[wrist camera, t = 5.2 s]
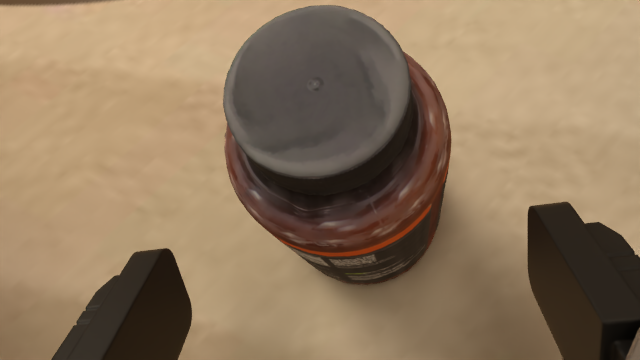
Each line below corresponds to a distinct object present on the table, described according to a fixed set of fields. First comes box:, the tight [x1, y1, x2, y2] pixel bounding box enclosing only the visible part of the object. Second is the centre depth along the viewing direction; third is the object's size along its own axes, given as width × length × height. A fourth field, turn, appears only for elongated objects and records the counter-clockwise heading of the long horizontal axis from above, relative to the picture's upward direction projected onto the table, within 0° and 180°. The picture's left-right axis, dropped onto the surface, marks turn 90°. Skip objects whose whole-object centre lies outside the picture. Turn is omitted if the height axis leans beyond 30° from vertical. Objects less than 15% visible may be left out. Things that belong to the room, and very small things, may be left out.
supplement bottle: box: [223, 5, 451, 284], centre depth 16 cm, size 6×6×11 cm
